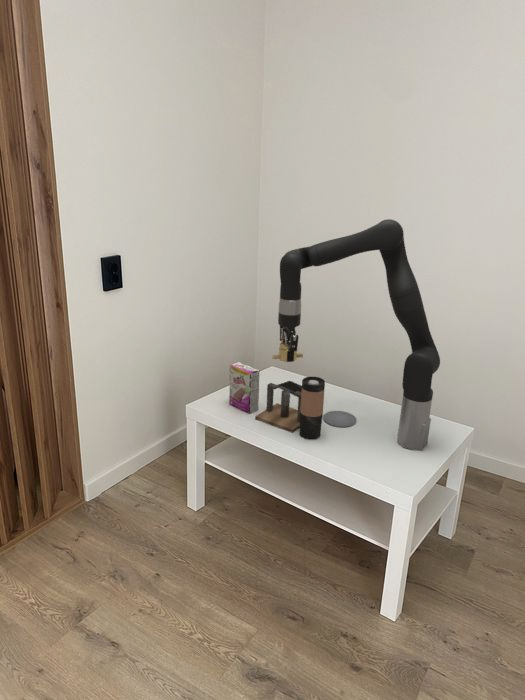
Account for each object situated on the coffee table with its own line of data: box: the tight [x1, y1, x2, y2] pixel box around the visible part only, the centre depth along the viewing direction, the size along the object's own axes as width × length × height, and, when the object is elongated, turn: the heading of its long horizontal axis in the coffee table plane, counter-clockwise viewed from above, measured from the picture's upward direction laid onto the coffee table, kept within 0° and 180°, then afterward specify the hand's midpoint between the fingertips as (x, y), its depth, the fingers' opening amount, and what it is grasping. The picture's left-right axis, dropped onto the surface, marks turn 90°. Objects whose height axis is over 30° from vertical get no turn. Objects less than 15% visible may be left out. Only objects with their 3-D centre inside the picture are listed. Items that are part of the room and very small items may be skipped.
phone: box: [277, 380, 302, 396], centre depth 223 cm, size 8×1×15 cm
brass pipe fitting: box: [271, 342, 304, 363], centre depth 190 cm, size 11×6×5 cm, turn 105°
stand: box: [254, 382, 302, 433], centre depth 197 cm, size 16×14×12 cm
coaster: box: [322, 410, 357, 429], centre depth 200 cm, size 12×12×1 cm
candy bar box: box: [228, 361, 260, 415], centre depth 204 cm, size 11×5×16 cm, turn 46°
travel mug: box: [299, 376, 326, 440], centre depth 185 cm, size 8×8×20 cm
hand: (287, 357), depth 191 cm, fingers closed on brass pipe fitting, 5 cm apart
